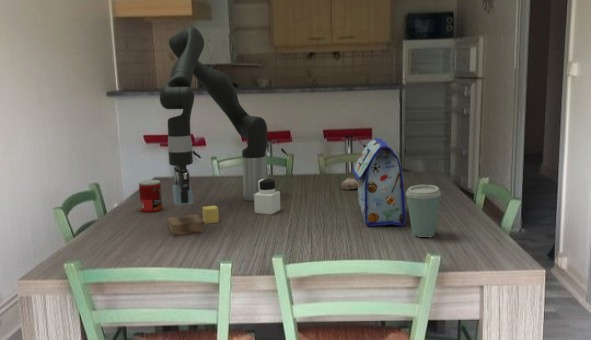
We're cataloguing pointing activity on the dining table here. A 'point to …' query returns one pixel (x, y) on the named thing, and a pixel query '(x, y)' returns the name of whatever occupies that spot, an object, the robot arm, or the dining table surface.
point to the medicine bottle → (267, 197)
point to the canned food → (150, 195)
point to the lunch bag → (380, 185)
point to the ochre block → (210, 214)
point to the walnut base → (185, 225)
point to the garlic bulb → (350, 183)
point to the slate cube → (178, 195)
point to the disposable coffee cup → (423, 209)
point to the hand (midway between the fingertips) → (183, 200)
